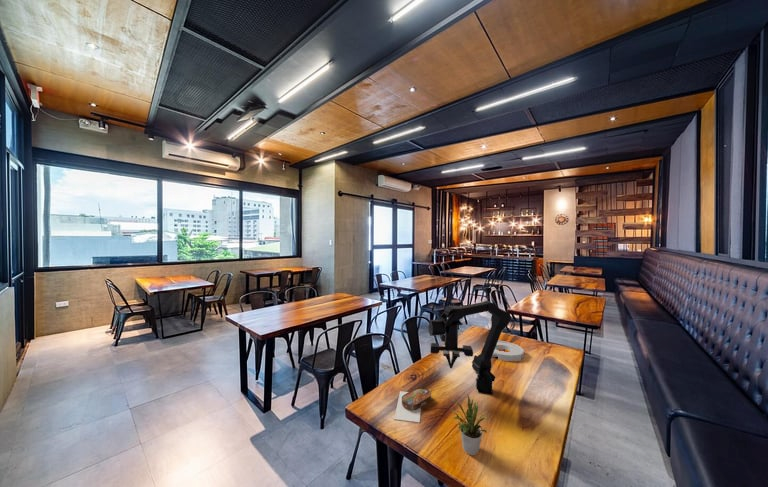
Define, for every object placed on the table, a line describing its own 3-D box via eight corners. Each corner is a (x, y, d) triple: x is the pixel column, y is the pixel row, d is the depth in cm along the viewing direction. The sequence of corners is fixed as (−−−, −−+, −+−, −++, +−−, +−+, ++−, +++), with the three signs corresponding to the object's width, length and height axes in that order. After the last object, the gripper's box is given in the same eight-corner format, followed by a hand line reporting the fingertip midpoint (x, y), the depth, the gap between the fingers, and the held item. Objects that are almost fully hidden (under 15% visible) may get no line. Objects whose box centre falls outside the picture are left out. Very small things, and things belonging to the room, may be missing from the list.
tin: (411, 407, 113) (397, 396, 120) (411, 414, 114) (397, 403, 120) (435, 393, 123) (420, 384, 130) (434, 400, 124) (420, 391, 130)
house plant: (444, 431, 104) (444, 387, 103) (481, 432, 103) (482, 388, 103) (452, 462, 90) (453, 412, 89) (495, 463, 89) (497, 413, 89)
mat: (421, 394, 128) (421, 393, 128) (419, 422, 108) (419, 422, 108) (400, 391, 130) (400, 391, 130) (394, 419, 110) (394, 419, 110)
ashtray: (531, 362, 162) (531, 355, 162) (491, 362, 162) (491, 355, 162) (513, 346, 185) (513, 340, 185) (478, 346, 186) (478, 340, 185)
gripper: (470, 329, 134) (469, 361, 135) (430, 327, 138) (430, 358, 138) (473, 338, 123) (472, 373, 124) (430, 335, 127) (430, 369, 127)
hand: (450, 367), depth 128 cm, fingers closed
